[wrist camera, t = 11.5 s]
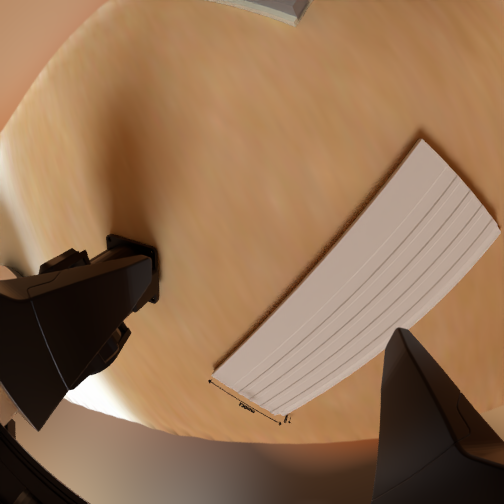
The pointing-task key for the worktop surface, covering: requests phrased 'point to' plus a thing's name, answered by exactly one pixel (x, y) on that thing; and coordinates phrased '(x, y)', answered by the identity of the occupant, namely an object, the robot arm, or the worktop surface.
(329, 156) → the worktop surface
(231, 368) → the baseboard
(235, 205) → the worktop surface
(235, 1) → the holder
